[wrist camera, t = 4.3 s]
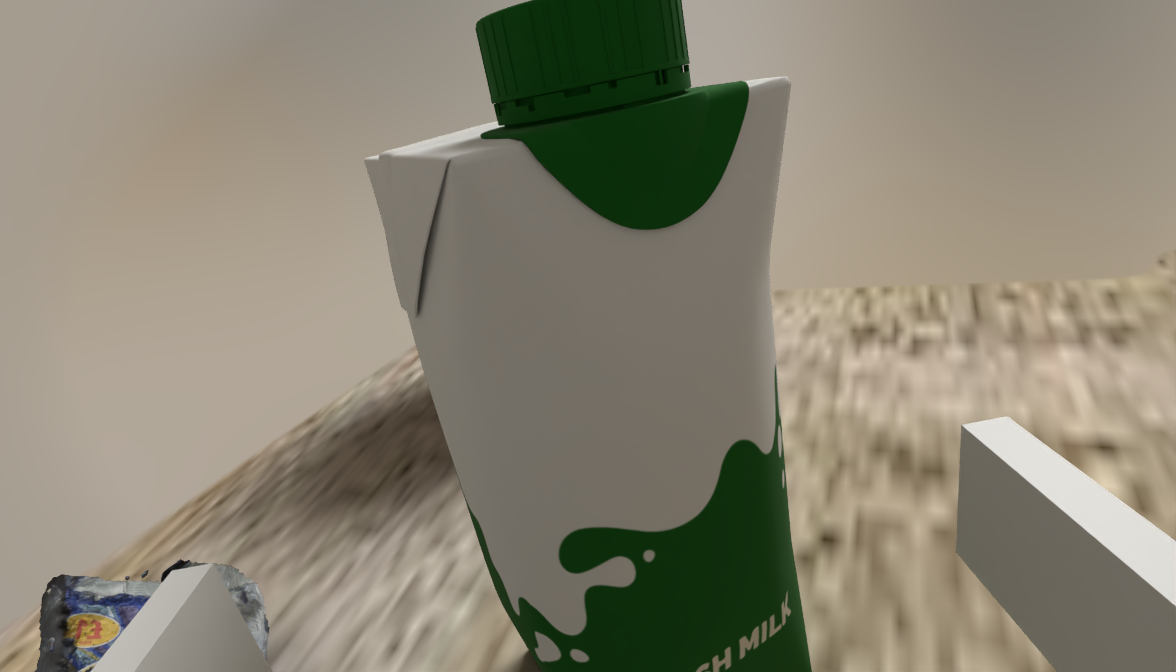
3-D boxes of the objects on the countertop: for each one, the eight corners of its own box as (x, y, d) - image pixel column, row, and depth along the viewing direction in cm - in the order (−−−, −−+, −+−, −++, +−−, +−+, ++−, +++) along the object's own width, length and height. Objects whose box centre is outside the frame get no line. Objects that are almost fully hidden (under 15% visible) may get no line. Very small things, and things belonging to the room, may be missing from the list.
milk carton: (622, 877, 16) (373, 8, 8) (496, 642, 23) (306, 78, 16) (858, 685, 19) (833, -52, 12) (680, 534, 27) (596, 29, 19)
